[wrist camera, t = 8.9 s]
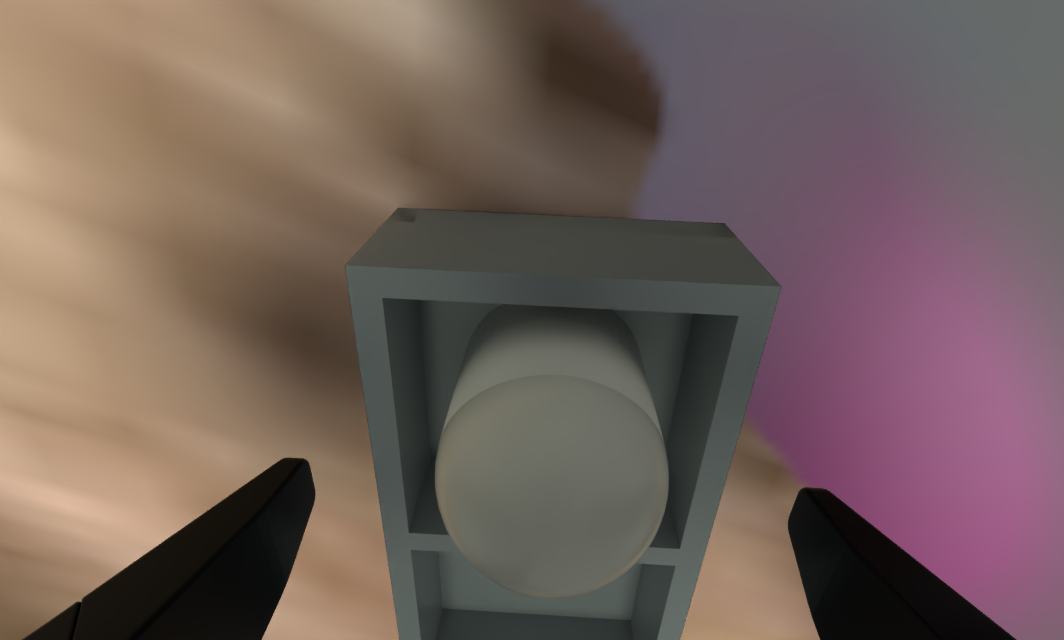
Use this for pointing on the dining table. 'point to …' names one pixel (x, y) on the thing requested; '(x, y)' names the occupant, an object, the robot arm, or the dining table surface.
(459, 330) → the grey long rectangular tray
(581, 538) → the cream egg
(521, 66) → the dining table surface
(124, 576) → the robot arm
